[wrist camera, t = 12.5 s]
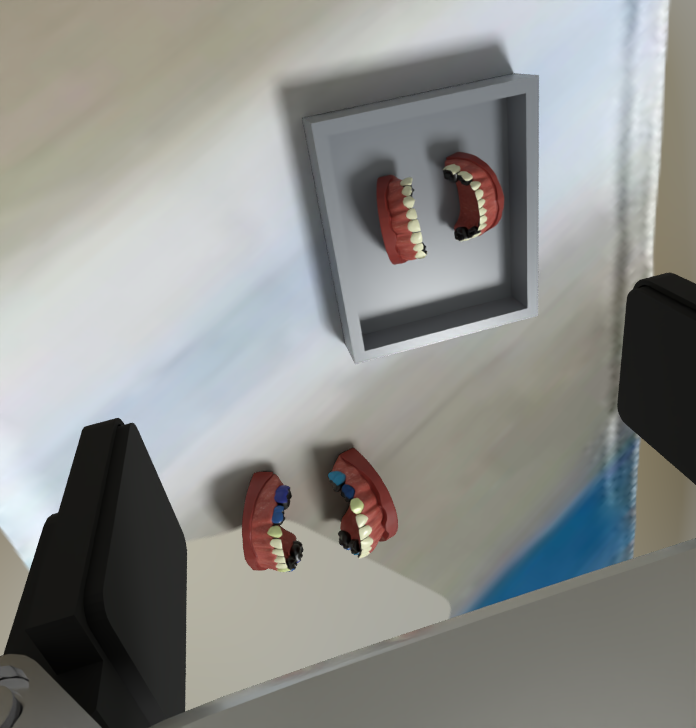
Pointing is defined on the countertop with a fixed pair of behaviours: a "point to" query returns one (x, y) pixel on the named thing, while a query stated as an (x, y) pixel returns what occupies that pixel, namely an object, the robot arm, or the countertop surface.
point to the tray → (429, 213)
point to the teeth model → (358, 526)
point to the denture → (475, 196)
